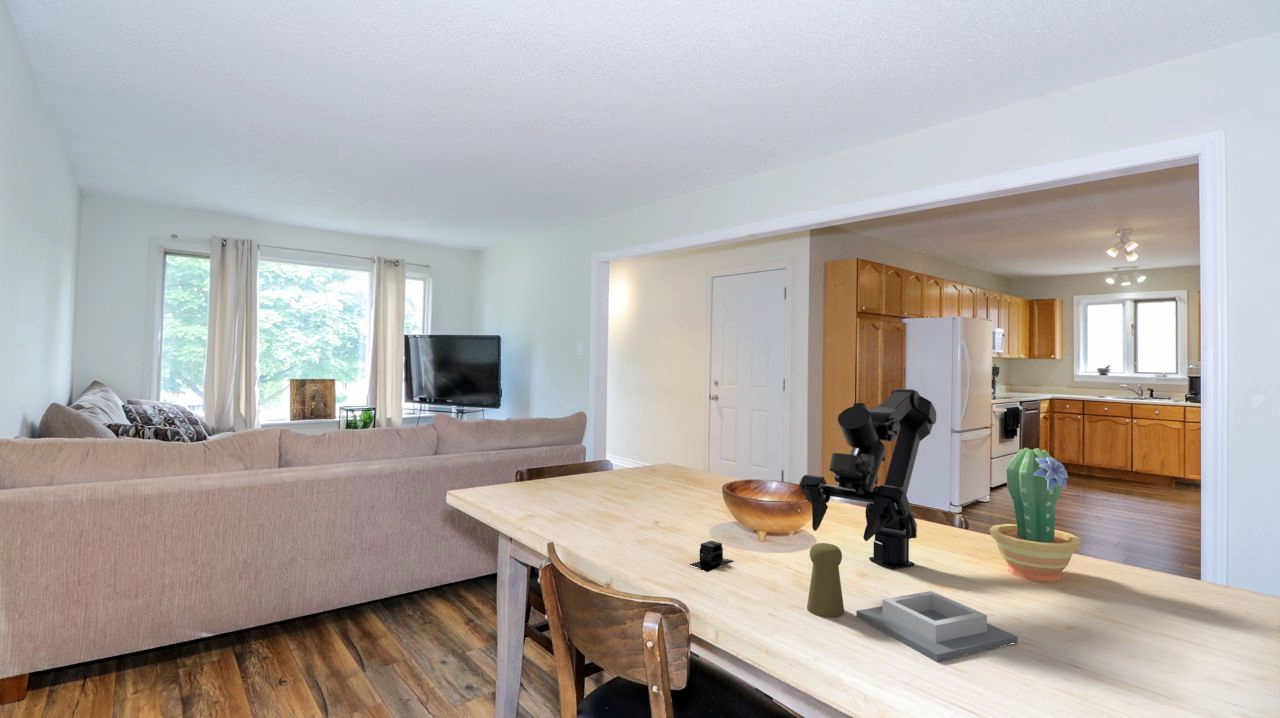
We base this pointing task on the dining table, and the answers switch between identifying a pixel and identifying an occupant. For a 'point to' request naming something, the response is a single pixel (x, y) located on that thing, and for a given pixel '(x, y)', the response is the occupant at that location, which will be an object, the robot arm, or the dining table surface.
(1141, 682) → the dining table surface
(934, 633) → the socket plate
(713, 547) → the black bracket mount
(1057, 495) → the potted cactus
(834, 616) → the cork
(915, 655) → the dining table surface
